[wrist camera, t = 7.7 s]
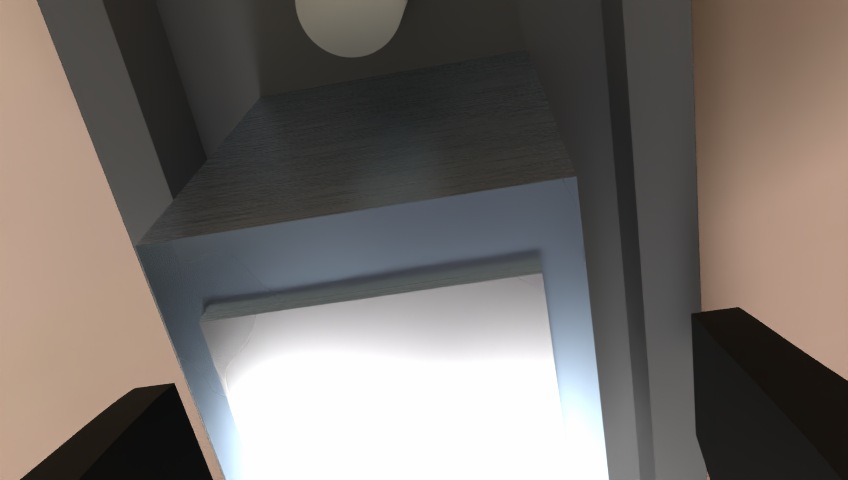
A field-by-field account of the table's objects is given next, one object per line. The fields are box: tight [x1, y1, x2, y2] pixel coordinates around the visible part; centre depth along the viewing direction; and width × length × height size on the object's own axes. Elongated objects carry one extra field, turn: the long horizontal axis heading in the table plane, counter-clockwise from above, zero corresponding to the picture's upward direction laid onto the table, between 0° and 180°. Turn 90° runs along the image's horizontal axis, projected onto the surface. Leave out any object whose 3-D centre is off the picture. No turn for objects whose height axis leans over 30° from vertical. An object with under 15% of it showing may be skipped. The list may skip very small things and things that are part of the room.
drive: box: [135, 49, 609, 480], centre depth 11 cm, size 8×4×5 cm, turn 11°
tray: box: [37, 0, 707, 480], centre depth 12 cm, size 13×8×3 cm, turn 10°
